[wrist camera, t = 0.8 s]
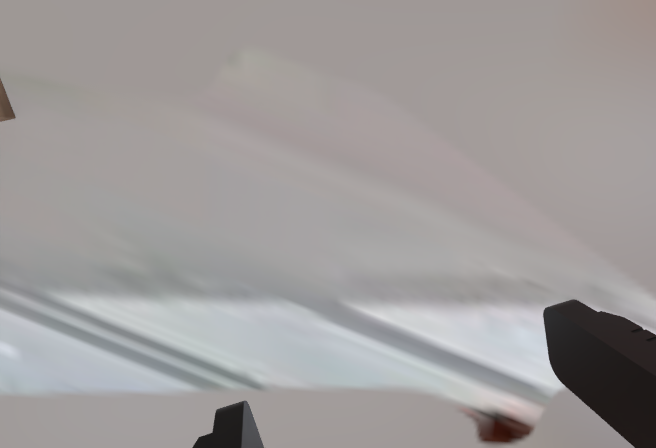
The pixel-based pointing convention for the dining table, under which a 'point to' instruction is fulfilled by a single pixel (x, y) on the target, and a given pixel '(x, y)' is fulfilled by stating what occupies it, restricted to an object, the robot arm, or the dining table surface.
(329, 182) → the dining table surface
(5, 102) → the brown open channel
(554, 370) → the robot arm
